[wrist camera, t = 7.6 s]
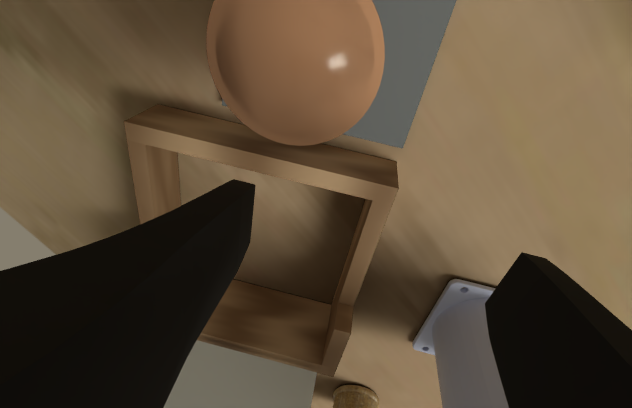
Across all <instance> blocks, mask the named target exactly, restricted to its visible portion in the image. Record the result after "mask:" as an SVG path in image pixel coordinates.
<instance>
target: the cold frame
mask: <svg viewBox="0 0 632 408" xmlns="http://www.w3.org/2000/svg"><path fill="white" fill-rule="evenodd" d="M124 126H125V132H126V138H127V144H128V151H129V157H130V163H131V169H132V176H133V182H134V188H135V195H136V201H137V207H138V213H139V220H140V224H143V223H145V222H147V221H149V220H152V219H154V218H156V217H158V216H161V215H163V214H165V213H167V212H170V211H172V210H174V209H176V208H178V207H180V206H181V200H180V185H179V170H178V155H177V152H178V153H182V154H186V155H190V156H194V157H198V158H202V159H206V160H210V161H214V162H218V163H222V164H226V165H231V166H235V167H239V168H243V169H247V170H251V171H255V172H259V173H263V174H267V175H271V176H275V177H279V178H283V179H287V180H291V181H295V182H299V183H303V184H308V185H312V186H316V187H320V188H324V189H328V190H332V191H336V192H340V193H344V194H348V195H352V196H356V197H360V198H364V199H365V202H364V205H363V209H362V212H361V215H360V218H359V221H358V224H357V227H356V230H355V233H354V236H353V239H352V243H351V246H350V249H349V252H348V255H347V258H346V261H345V264H344V267H343V270H342V274H341V277H340V280H339V283H338V286H337V289H336V292H335V295H334V298H333V301H332V305H330V304H326V303H322V302H318V301H314V300H311V299H307V298H303V297H299V296H295V295H291V294H288V293H284V292H280V291H276V290H272V289H268V288H265V287H261V286H257V285H253V284H249V283H245V282H242V281H238V280H234V279H233V280H232V282H231V283H230V285H229V287H228V288H227V290H226V292H225V294H224V295H223V297H222V299H221V300H220V302H219V304H218V305H217V307H216V309H215V310H214V312H213V314H212V315H211V317H210V319H209V320H208V322H207V324H206V325H205V327H204V329H203V331H202V332H201V334H200V336H199V337H198V339H197V340H198V341H202V342H206V343H209V344H213V345H217V346H220V347H224V348H228V349H232V350H235V351H239V352H243V353H246V354H250V355H254V356H258V357H261V358H265V359H269V360H272V361H276V362H280V363H284V364H287V365H291V366H295V367H298V368H302V369H306V370H310V371H313V372H317V373H320V374H324V375H327V376H331V377H333V376H334V374H335V371H336V369H337V367H338V364H339V362H340V359H341V357H342V354H343V352H344V349H345V347H346V344H347V342H348V340H349V337H350V335H351V327H352V316H353V306H354V304H355V301H356V298H357V296H358V293H359V291H360V288H361V285H362V283H363V280H364V278H365V275H366V272H367V270H368V267H369V265H370V262H371V259H372V257H373V254H374V252H375V249H376V246H377V244H378V241H379V239H380V236H381V233H382V231H383V228H384V226H385V223H386V220H387V218H388V215H389V213H390V210H391V207H392V205H393V202H394V200H395V197H396V194H397V192H398V189H399V187H398V175H397V162H395V161H391V160H387V159H383V158H379V157H375V156H370V155H366V154H362V153H358V152H354V151H350V150H346V149H341V148H337V147H333V146H329V145H325V144H321V143H320V144H315V145H306V146H296V145H287V144H282V143H278V142H275V141H272V140H270V139H267V138H265V137H263V136H261V135H259V134H258V133H256V132H254V131H253V130H251V129H250V128H249V127H247V126H246V125H242V124H238V123H234V122H230V121H225V120H221V119H217V118H213V117H209V116H205V115H201V114H196V113H192V112H188V111H184V110H180V109H176V108H172V107H167V106H163V105H159V104H157V105H155V106H153V107H151V108H149V109H147V110H145V111H143V112H142V113H140V114H138V115H136V116H134V117H132V118H130V119H128V120H126V121H124Z"/></svg>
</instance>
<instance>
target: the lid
mask: <svg viewBox="0 0 632 408" xmlns="http://www.w3.org/2000/svg"><path fill="white" fill-rule="evenodd" d="M316 375H317V372H313V371H310V370H306V369H302V368H298V367H295V366H291V365H287V364H284V363H280V362H276V361H272V360H269V359H265V358H261V357H258V356H254V355H250V354H246V353H243V352H239V351H235V350H232V349H228V348H224V347H220V346H217V345H213V344H209V343H206V342H202V341H198V340H197V341H196V342H195V344H194V346H193V348H192V350H191V352H190V353H189V355H188V357H187V359H186V361H185V363H184V365H183V367H182V369H181V372H180V374H179V376H178V378H177V380H176V382H175V384H174V386H173V388H172V390H171V393H170V395H169V397H168V399H167V401H166V403H165V406H164V408H311V403H312V397H313V392H314V386H315V381H316Z"/></svg>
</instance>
